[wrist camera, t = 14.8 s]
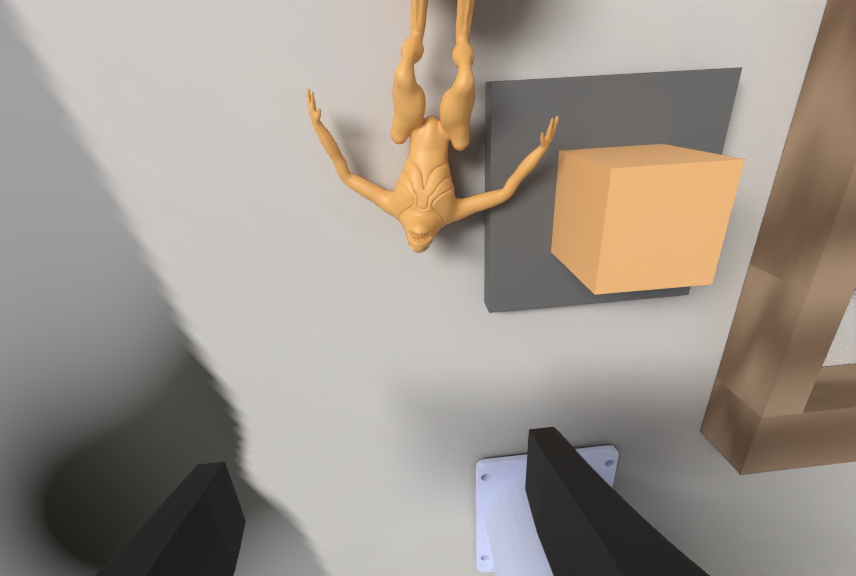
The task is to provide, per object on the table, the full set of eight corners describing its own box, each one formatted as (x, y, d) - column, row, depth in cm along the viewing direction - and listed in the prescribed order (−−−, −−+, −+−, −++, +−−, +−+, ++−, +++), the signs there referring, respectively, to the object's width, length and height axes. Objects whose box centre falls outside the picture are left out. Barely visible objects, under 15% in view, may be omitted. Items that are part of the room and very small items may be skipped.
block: (645, 244, 18) (711, 284, 14) (550, 252, 17) (594, 294, 14) (662, 143, 16) (745, 159, 12) (559, 150, 16) (611, 168, 12)
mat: (674, 285, 20) (688, 294, 19) (484, 302, 19) (489, 312, 18) (721, 68, 16) (742, 67, 15) (485, 82, 15) (492, 81, 14)
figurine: (661, -261, 9) (563, 286, 11) (571, -79, 15) (520, 256, 17) (274, -304, 9) (260, 253, 11) (338, -105, 15) (320, 234, 17)
